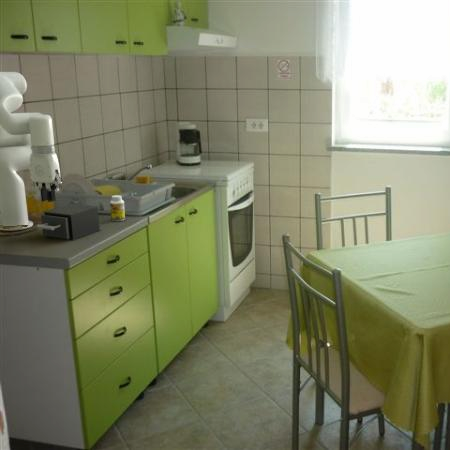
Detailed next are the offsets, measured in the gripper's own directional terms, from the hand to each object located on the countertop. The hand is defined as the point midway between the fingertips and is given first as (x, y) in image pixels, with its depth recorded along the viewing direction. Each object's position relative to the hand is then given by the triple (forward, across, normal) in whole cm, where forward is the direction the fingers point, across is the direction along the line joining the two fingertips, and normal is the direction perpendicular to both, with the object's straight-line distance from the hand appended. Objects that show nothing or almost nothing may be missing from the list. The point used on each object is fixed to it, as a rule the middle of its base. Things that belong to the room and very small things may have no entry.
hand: (48, 200), depth 211 cm
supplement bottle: (+15, +3, +34) cm, 37 cm away
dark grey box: (+15, 0, +11) cm, 19 cm away
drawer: (+14, 0, +6) cm, 15 cm away
